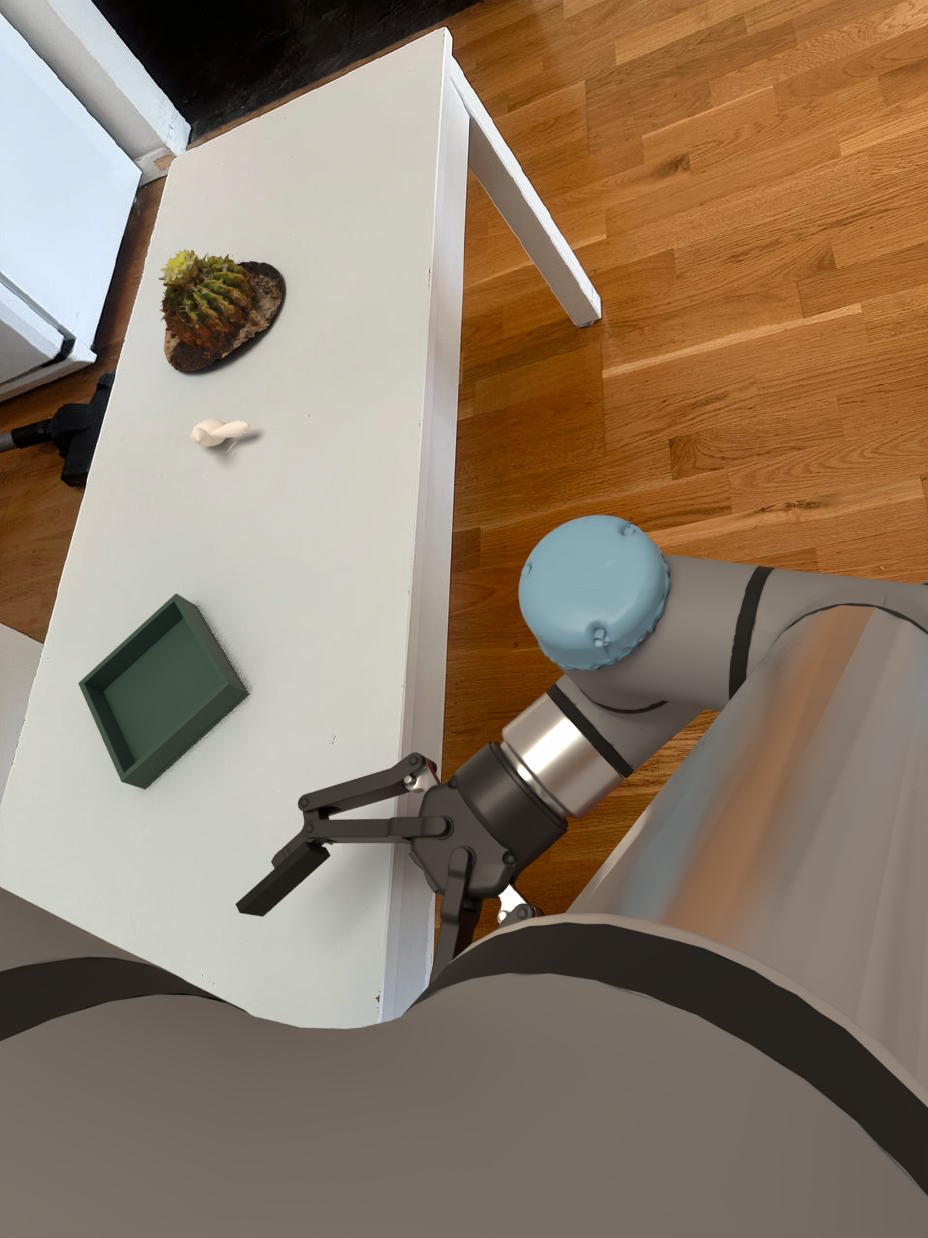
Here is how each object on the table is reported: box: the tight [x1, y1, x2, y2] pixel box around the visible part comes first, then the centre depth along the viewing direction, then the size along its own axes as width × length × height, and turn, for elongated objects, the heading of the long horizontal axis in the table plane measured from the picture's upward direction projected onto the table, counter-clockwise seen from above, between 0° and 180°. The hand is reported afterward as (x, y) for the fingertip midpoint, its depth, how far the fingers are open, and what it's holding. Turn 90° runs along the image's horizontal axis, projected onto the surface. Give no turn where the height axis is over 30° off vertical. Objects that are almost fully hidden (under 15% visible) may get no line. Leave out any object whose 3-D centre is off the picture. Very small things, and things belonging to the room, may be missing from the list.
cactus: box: [158, 248, 285, 373], centre depth 98 cm, size 17×16×10 cm
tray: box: [78, 593, 250, 790], centre depth 80 cm, size 13×13×3 cm
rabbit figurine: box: [189, 418, 251, 453], centre depth 91 cm, size 6×4×8 cm
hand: (291, 997), depth 55 cm, fingers open, 13 cm apart
